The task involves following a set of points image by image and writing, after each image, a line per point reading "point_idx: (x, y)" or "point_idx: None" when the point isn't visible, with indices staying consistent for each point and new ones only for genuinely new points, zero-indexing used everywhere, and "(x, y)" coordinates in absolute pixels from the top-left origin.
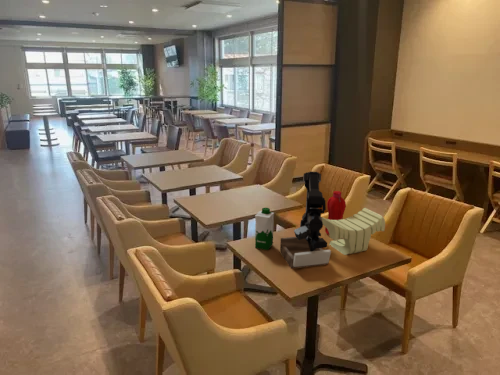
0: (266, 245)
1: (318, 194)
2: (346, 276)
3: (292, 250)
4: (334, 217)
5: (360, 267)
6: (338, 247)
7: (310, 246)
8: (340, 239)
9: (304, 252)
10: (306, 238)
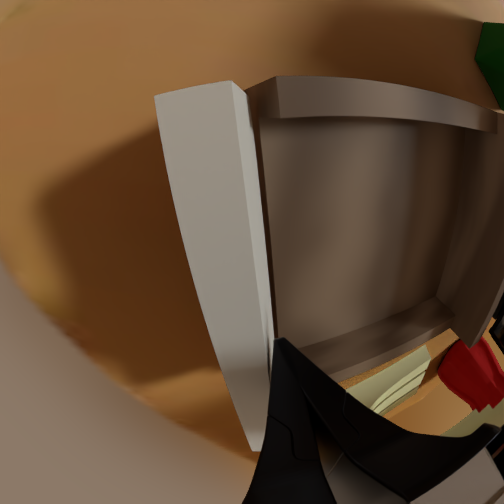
0: (496, 53)
1: None
2: (144, 395)
3: (453, 177)
4: (486, 396)
5: (229, 428)
6: (386, 381)
7: (267, 445)
8: (420, 380)
9: (248, 289)
10: (435, 483)
